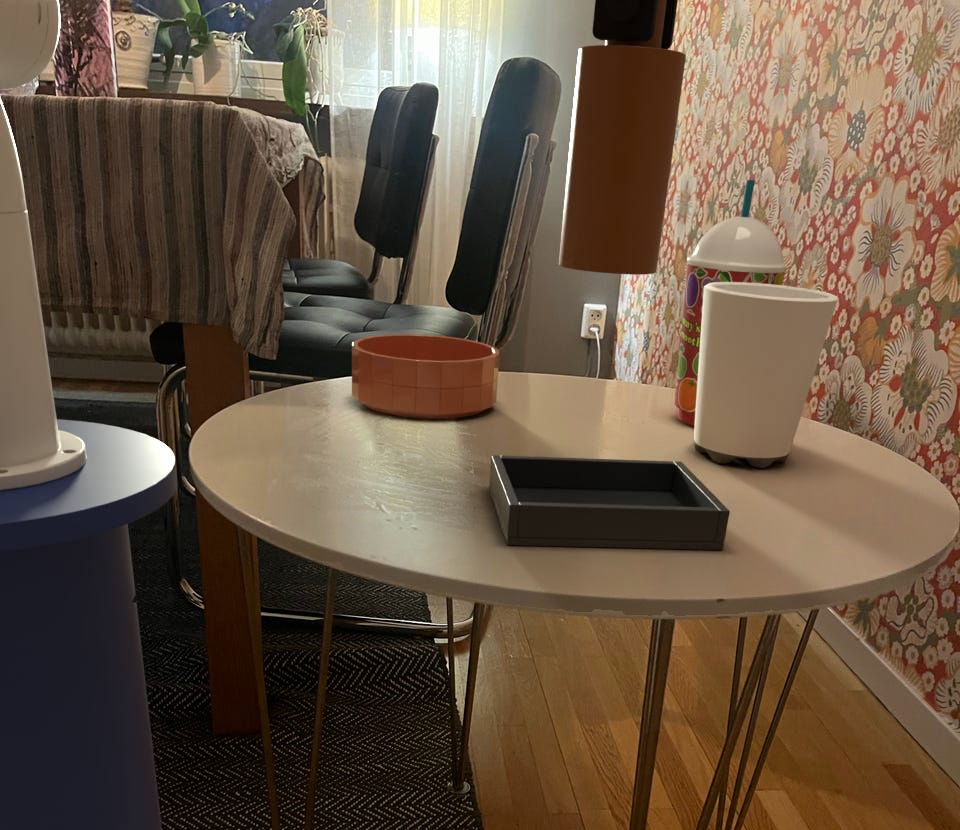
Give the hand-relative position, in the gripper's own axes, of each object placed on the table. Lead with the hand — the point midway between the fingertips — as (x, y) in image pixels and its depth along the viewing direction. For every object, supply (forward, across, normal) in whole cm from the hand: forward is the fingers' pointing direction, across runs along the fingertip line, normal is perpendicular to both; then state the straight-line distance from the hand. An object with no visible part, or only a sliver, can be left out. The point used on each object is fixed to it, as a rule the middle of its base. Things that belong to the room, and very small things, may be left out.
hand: (632, 40), depth 51 cm
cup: (+27, -20, +7) cm, 34 cm away
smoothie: (+27, -30, +2) cm, 40 cm away
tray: (+26, +2, +2) cm, 26 cm away
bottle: (+12, 0, 0) cm, 12 cm away
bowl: (+26, -19, -22) cm, 39 cm away
